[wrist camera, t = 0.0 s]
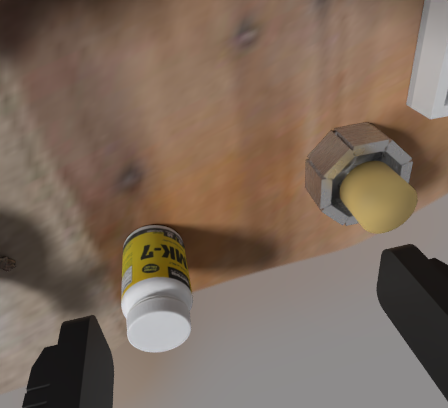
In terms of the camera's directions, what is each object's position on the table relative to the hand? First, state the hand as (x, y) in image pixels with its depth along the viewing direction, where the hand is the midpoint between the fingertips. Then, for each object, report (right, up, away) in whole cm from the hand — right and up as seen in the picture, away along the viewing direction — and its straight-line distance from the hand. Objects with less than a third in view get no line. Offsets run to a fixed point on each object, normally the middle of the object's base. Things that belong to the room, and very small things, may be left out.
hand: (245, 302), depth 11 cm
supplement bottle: (-6, -1, +20) cm, 21 cm away
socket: (+9, +6, +20) cm, 22 cm away
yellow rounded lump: (+10, +4, +17) cm, 20 cm away
